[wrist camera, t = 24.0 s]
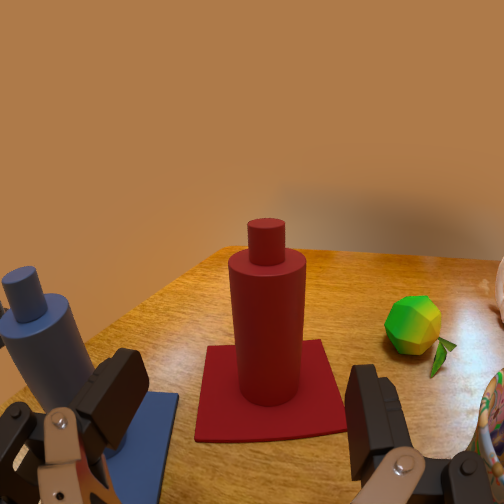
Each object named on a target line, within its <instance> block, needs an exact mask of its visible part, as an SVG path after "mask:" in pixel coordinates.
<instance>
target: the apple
mask: <svg viewBox="0 0 504 504" xmlns="http://www.w3.org/2000/svg"><path fill="white" fill-rule="evenodd" d="M384 326H385V329H386V333H387V336H388V338H389V339H390V341H391V342H392V344H393V345H394V347H395V348H396V350H397V351H398V353H399V354H409V355H421V354H423V353H424V352H425V351H426V350H427V349H428V348H429V347H430V346H431V345H432V344H433V343H434V342H435V341H436V340H437V339H438V340H439V341H440V342H439V345H438V348H437V351H436V355H435V358H434V363H433V368H432V373H431V378H432V376H433V375H434V374H435V373H436V371H437V370H438V369H439V368H440V366H441V365H442V364H443V363H444V361H445V360H446V355H447V351H446V350H445V348H444V346H445V347H446V348H447V350H448V351H449V352H451V351H452V350H453V349H454V348H455V347H456V346H457V345H455V344H453V343H451V342H449V341H447V340H445V339H443V338H440V337H439V334H440V329H441V312H440V311H439V309H438V308H437V307H436V306H435V305H434V303H433V302H432V301H431V300H430V299H429V297H428V296H406V297H404V298H403V299H401V300H399V301H397V302H396V303H394V304H393V307H392V309H391V311H390V313H389V315H388V317H387V319H386V322H385V324H384ZM443 345H444V346H443ZM431 378H430V379H431Z"/></svg>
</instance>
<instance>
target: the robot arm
mask: <svg viewBox="0 0 504 504" xmlns="http://www.w3.org/2000/svg"><path fill="white" fill-rule="evenodd" d="M5 313H6V312H5V310H4V309H3V306H2V304H1V301H0V319H1V317H2V316H3V315H4V314H5ZM148 388H149V377H148V374H147V372H146V369H145V366H144V363H143V360H142V357H141V354H140V352H139V351H137V350H131V349H126V348H119V349H118V350H117V351H116V353H115V354H114V355H113V357H112V358H108V359H106V360H105V361H103V362H102V363H101V364H99V365H98V367H97V368H96V369H95V370H94V372H93V375H91V376H90V377H89V378H88V381H87V382H85V384H84V385H83V386H82V388H81V389H80V390H79V392H78V393H77V394H76V396H75V397H74V399H73V400H72V401H71V403H70V404H69V405H68V406H67V407H57V408H54V409H52V410H51V411H50V412H49V413H48V414H43V413H35V412H32V410H31V409H30V408H29V406H28V405H27V404H26V403H24V402H15V403H13V404H11V405H10V406H9V407H8V408H7V409H6V410H5V412H4V413H3V414H2V416H1V417H0V504H38V503H39V501H40V499H41V504H122V503H121V501H120V500H119V498H118V497H117V495H116V493H115V491H114V487H113V484H112V481H111V477H110V474H109V470H108V466H107V463H106V459H105V455H104V453H103V451H104V449H105V447H106V448H109V449H112V450H115V451H116V450H117V448H118V446H119V444H120V442H121V440H122V438H123V436H124V434H125V433H126V431H127V429H128V427H129V425H130V423H131V421H132V419H133V417H134V416H135V414H136V412H137V410H138V408H139V406H140V404H141V403H142V401H143V399H144V397H145V395H146V393H147V391H148ZM401 408H402V407H401V404H400V400H399V397H398V394H397V391H396V388H395V386H394V385H393V384H392V383H391V381H390V380H389V379H388V378H387V377H382V378H378V376H377V373H376V369H375V366H374V365H373V364H366V365H353V366H352V369H351V373H350V377H349V381H348V385H347V389H346V393H345V415H346V423H347V432H348V442H349V452H350V464H351V477H352V481H358V480H361V488H362V489H361V490H360V492H359V493H358V494H357V496H356V497H355V498H354V499H353V501H352V502H351V503H350V504H494V501H493V496H492V491H491V487H490V482H489V478H488V474H487V470H486V467H485V463H484V460H483V459H482V457H481V456H480V455H479V454H478V453H476V452H473V451H462V452H460V453H458V454H457V455H455V456H454V457H453V458H452V459H432V458H427V457H424V456H423V455H422V454H421V453H420V452H419V451H418V450H416V449H414V447H413V446H412V443H411V439H410V436H409V432H408V428H407V425H406V421H405V417H404V414H403V411H402V410H401ZM23 444H25V445H26V446H27V448H28V449H29V450H28V452H27V454H26V455H25V457H24V459H23V460H22V462H21V464H20V466H19V467H18V469H17V470H16V471H14V469H13V461H14V459H15V458H16V456H17V454H18V453H19V451H20V449H21V448H22V446H23Z"/></svg>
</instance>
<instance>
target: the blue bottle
mask: <svg viewBox="0 0 504 504" xmlns="http://www.w3.org/2000/svg"><path fill="white" fill-rule="evenodd" d="M2 285H3V288H4V291H5V294H6V296H7V299H8V302H9V305H10V307H11V308H10V309H9V310H8V311H7V312H6V313H5V314H4V315H3V316H2V317H1V319H0V335H1V337H2V339H3V342H4V344H5V346H6V348H7V350H8V352H9V354H10V355H11V357H12V359H13V361H14V363H15V365H16V367H17V368H18V370H19V371H20V373H21V375H22V377H23V379H24V380H25V382H26V384H27V385H28V387H29V389H30V390H31V392H32V393H33V395H34V396H35V398H36V399H37V401H38V402H39V404H40V405H41V407H42V408H43V410H44V411H45V412H46V414H48V413H49V412H50V411H51V410H52V409H54V408H57V407H67V406H68V405H69V404H70V403H71V401H72V400H73V399H74V397H75V396H76V394H77V393H78V392H79V390H80V389H81V388H82V386H83V385H84V384H85V382H87V381H88V378H89V377H90V376H91V375H93V372H94V370H95V368H94V366H93V364H92V362H91V360H90V357H89V355H88V353H87V350H86V348H85V346H84V343H83V341H82V338H81V336H80V333H79V331H78V328H77V325H76V323H75V320H74V317H73V314H72V311H71V308H70V306H69V303H68V300H67V299H66V298H65V297H64V296H62V295H59V294H53V293H50V294H43V291H42V288H41V285H40V281H39V278H38V275H37V272H36V268H35V267H33V266H26V267H21V268H18V269H15V270H13V271H11V272H9V273H8V274H6V275H5V276H4V277H3V279H2ZM126 436H127V433H125V434H124V436H123V438H122V440H121V442H120V444H119V446H118V448H117V450H116V451H115V450H112V449H109V448H106V447H105V449H104V451H103V453H104V455H105V459H109V458H111V457H113V456H115V455H116V454H117V453H118V452H119V451H120V450H121V449H122V448H123V446H124V444H125V442H126Z"/></svg>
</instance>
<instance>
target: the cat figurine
mask: <svg viewBox="0 0 504 504" xmlns="http://www.w3.org/2000/svg"><path fill="white" fill-rule="evenodd" d="M503 287H504V257H503V259H502V261H501V263H500V265H499V268H498V271H497V277H496V287H495V294H496V302H497V305H498V307H499V309H500V313H501V319H502V321H503V323H504V292H503Z"/></svg>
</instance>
